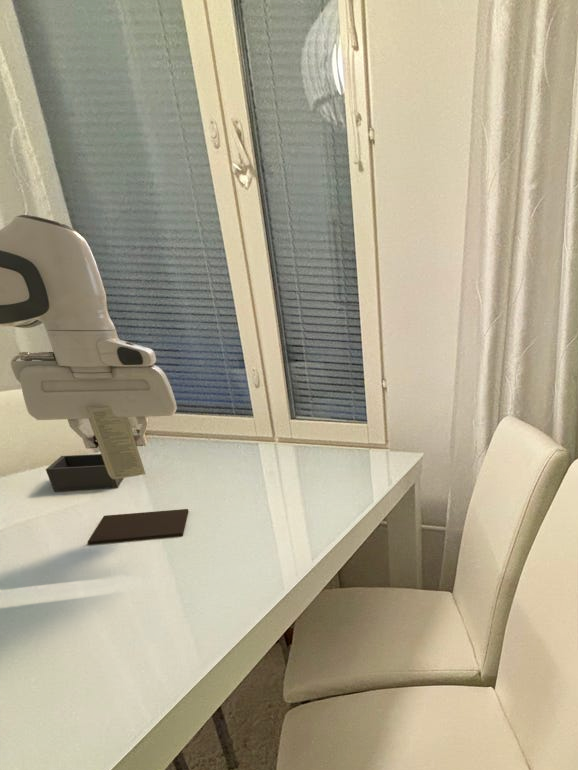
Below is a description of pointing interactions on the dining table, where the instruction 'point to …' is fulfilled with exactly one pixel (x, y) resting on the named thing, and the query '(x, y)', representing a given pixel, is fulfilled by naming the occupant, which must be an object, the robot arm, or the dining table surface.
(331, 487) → the dining table surface
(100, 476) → the bin
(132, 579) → the dining table surface
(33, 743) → the dining table surface
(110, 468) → the box
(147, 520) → the mat
